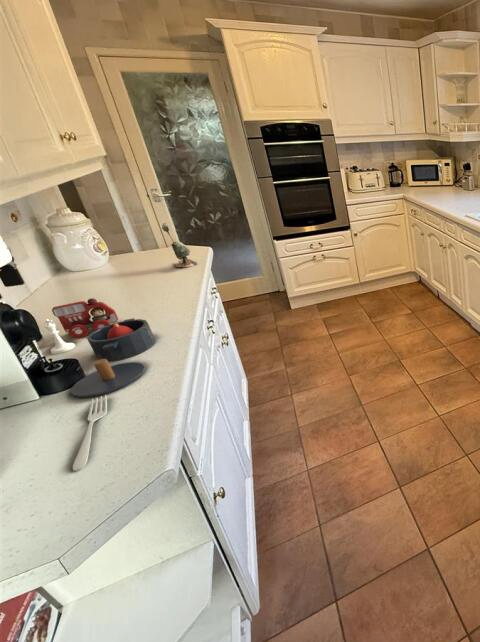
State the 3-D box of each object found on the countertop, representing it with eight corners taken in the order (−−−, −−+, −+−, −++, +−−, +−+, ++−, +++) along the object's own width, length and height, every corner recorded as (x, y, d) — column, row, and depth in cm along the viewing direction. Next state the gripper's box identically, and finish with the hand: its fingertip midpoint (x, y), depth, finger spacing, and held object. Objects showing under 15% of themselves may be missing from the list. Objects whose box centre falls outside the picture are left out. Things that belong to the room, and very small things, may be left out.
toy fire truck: (120, 328, 126) (106, 299, 122) (65, 342, 119) (48, 311, 115) (121, 320, 131) (107, 292, 127) (68, 333, 124) (52, 303, 119)
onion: (109, 350, 113) (97, 326, 110) (134, 340, 118) (123, 317, 114) (118, 355, 110) (106, 330, 107) (143, 345, 115) (132, 321, 112)
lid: (62, 406, 92) (49, 384, 89) (85, 375, 103) (74, 355, 100) (137, 387, 98) (126, 367, 95) (151, 360, 109) (142, 341, 106)
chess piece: (56, 347, 116) (39, 317, 112) (78, 343, 118) (62, 313, 114) (47, 355, 112) (29, 325, 108) (70, 351, 114) (53, 320, 110)
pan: (86, 371, 104) (74, 351, 102) (110, 340, 119) (100, 322, 116) (146, 358, 110) (137, 338, 107) (162, 330, 124) (154, 312, 122)
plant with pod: (177, 271, 173) (159, 227, 165) (174, 265, 181) (157, 222, 173) (199, 266, 178) (183, 223, 170) (195, 260, 186) (180, 219, 178)
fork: (66, 475, 74) (61, 468, 73) (93, 405, 92) (89, 399, 91) (89, 466, 75) (85, 459, 75) (111, 399, 93) (108, 393, 93)
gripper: (-38, 213, 89) (1, 283, 96) (-95, 230, 75) (-45, 310, 82) (10, 210, 92) (44, 277, 99) (-36, 225, 79) (7, 303, 85)
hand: (4, 292), depth 91 cm, fingers open, 9 cm apart
